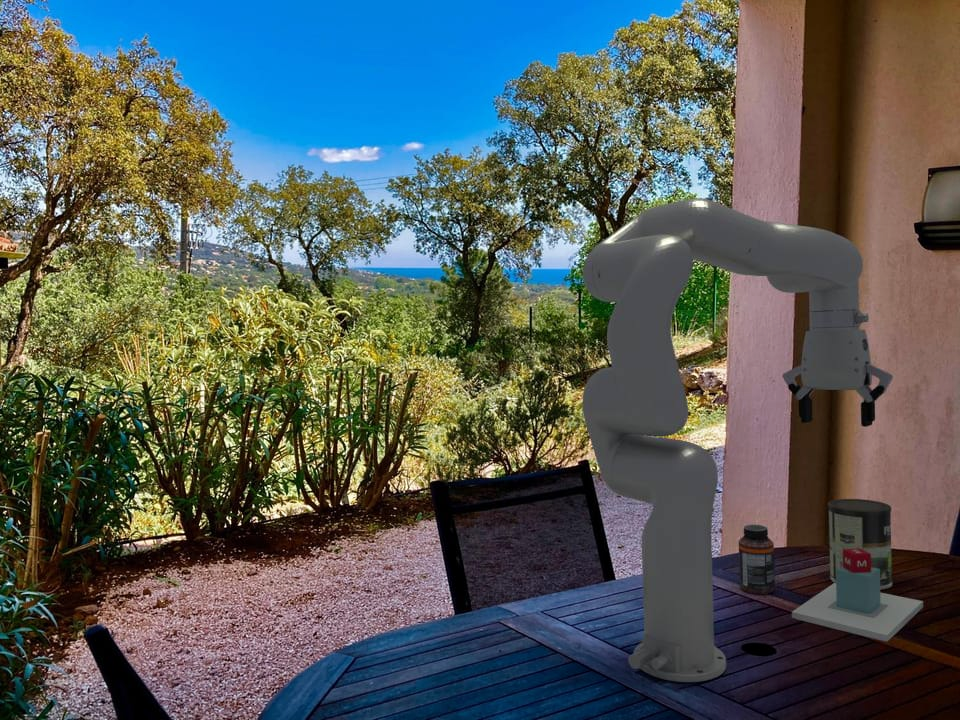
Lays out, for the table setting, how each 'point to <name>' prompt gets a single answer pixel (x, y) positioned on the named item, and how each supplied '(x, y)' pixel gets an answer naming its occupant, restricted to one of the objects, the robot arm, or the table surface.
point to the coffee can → (861, 534)
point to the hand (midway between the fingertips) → (836, 423)
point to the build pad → (859, 614)
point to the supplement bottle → (756, 560)
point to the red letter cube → (856, 560)
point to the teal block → (858, 590)
